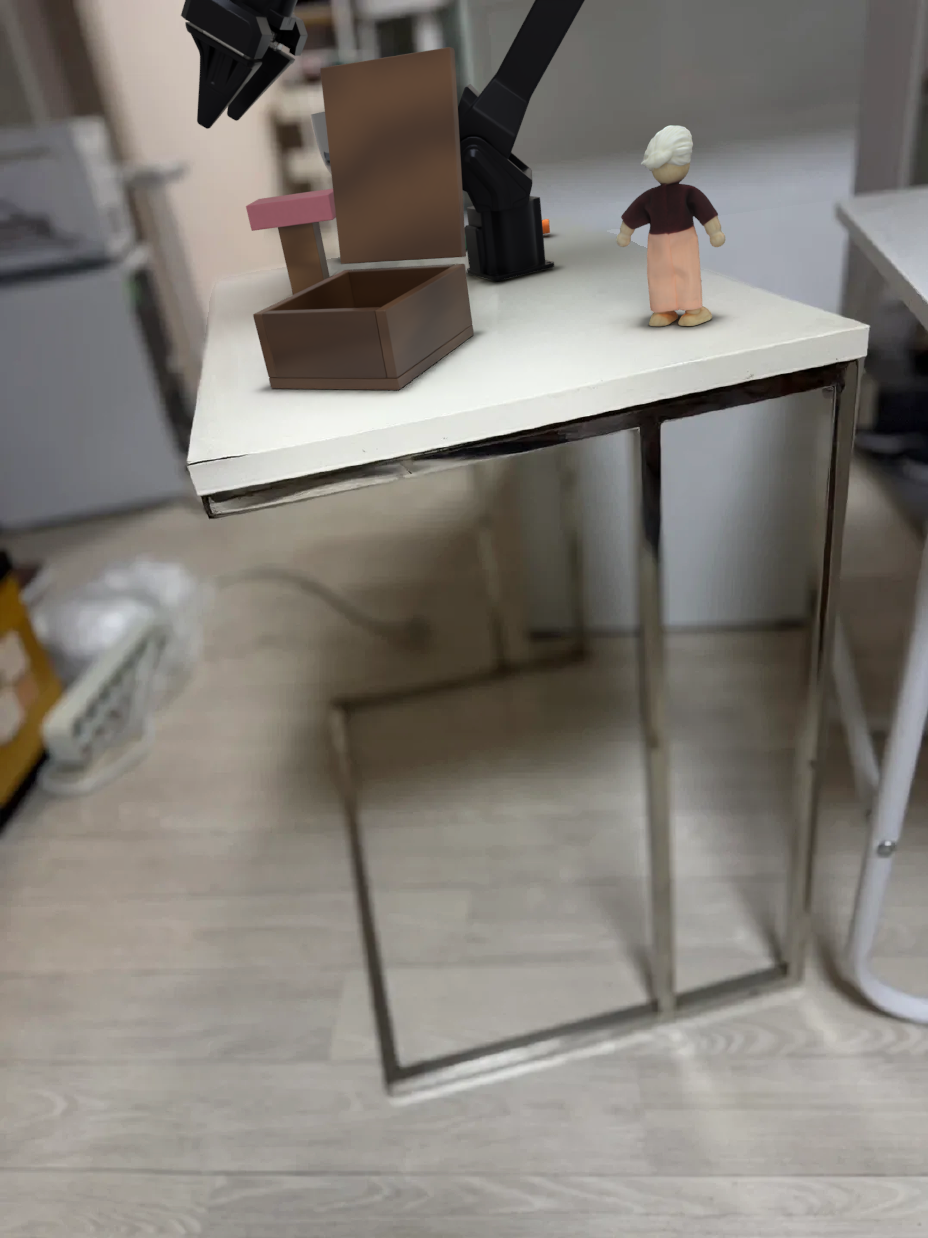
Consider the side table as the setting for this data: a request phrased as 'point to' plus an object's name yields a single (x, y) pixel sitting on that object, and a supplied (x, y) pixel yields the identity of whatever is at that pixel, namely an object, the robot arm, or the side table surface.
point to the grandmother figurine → (672, 230)
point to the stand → (304, 255)
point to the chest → (366, 328)
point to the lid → (396, 157)
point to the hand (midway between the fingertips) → (218, 122)
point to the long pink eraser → (291, 209)
